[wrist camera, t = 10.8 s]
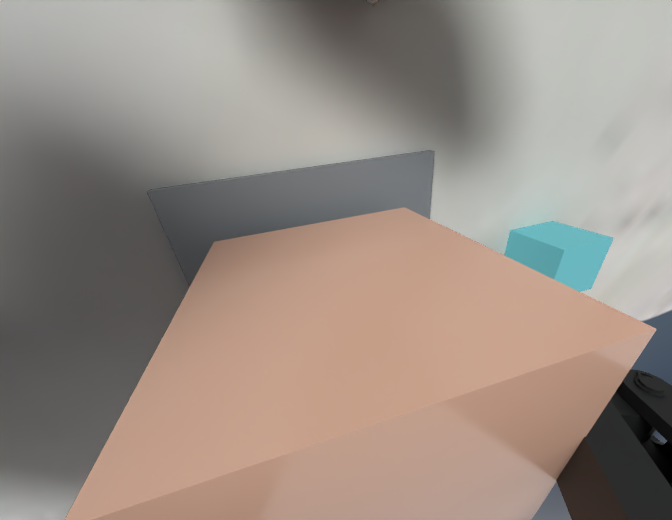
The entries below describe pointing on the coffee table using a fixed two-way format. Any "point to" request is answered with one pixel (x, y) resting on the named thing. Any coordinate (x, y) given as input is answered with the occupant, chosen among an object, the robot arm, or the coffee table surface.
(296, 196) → the mat
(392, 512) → the salmon peach cube
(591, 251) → the fully visible block
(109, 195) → the coffee table surface
